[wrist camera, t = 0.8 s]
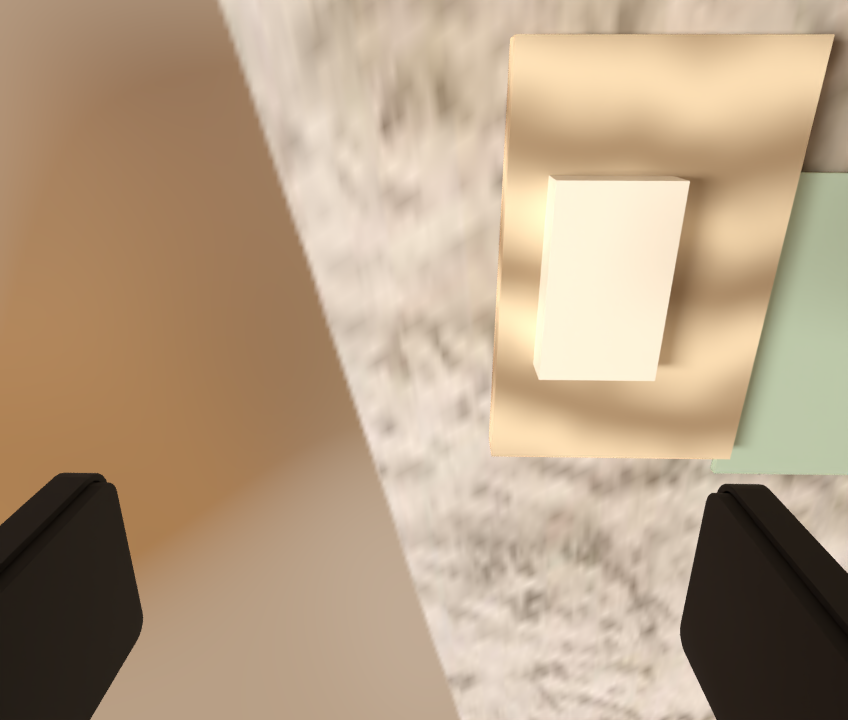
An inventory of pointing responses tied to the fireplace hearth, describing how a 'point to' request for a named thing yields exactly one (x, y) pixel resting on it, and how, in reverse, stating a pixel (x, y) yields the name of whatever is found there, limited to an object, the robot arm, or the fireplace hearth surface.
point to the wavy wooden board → (700, 236)
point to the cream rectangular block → (607, 275)
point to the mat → (802, 346)
